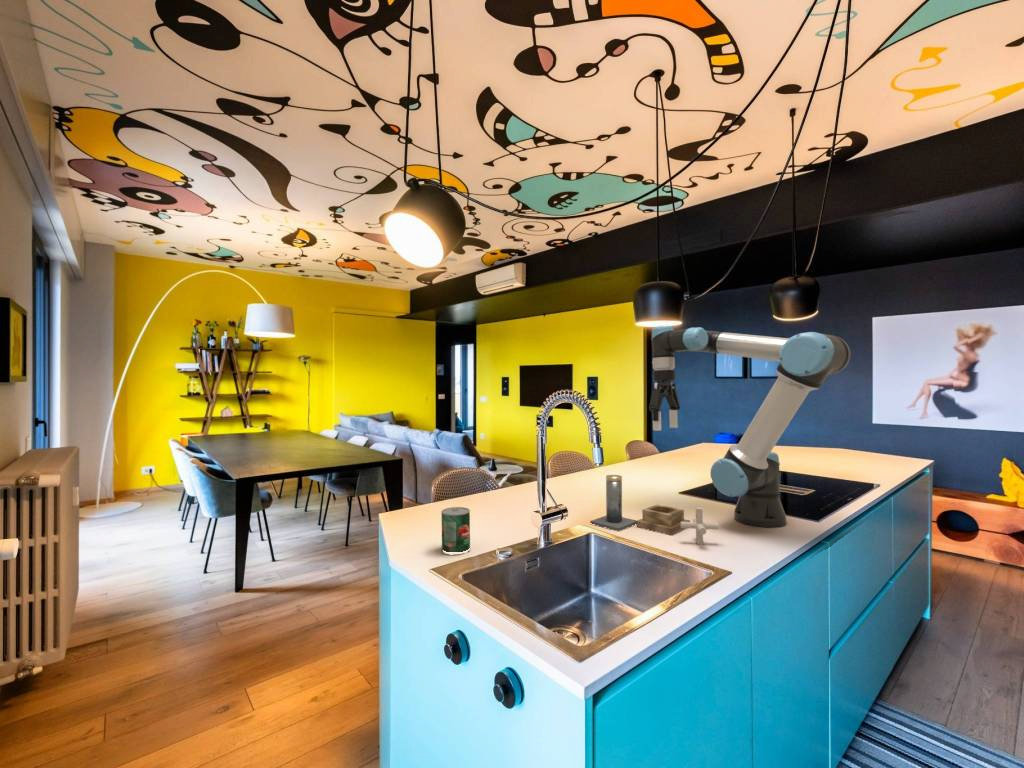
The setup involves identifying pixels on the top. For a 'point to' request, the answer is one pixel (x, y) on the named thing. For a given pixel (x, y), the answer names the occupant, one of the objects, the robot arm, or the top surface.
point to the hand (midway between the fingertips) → (665, 429)
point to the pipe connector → (699, 525)
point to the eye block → (662, 519)
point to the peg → (614, 498)
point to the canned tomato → (455, 529)
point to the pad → (614, 526)
